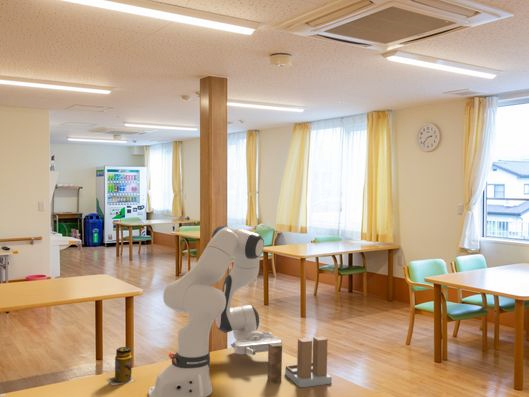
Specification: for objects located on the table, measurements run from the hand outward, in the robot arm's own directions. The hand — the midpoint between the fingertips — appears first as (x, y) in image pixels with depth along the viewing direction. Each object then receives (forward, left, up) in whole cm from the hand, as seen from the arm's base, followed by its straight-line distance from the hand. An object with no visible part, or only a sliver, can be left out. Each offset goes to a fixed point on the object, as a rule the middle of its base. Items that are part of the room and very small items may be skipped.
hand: (264, 351), depth 202 cm
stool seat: (+13, -13, -8) cm, 20 cm away
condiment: (-55, +9, -8) cm, 56 cm away
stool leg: (0, -10, -8) cm, 13 cm away
